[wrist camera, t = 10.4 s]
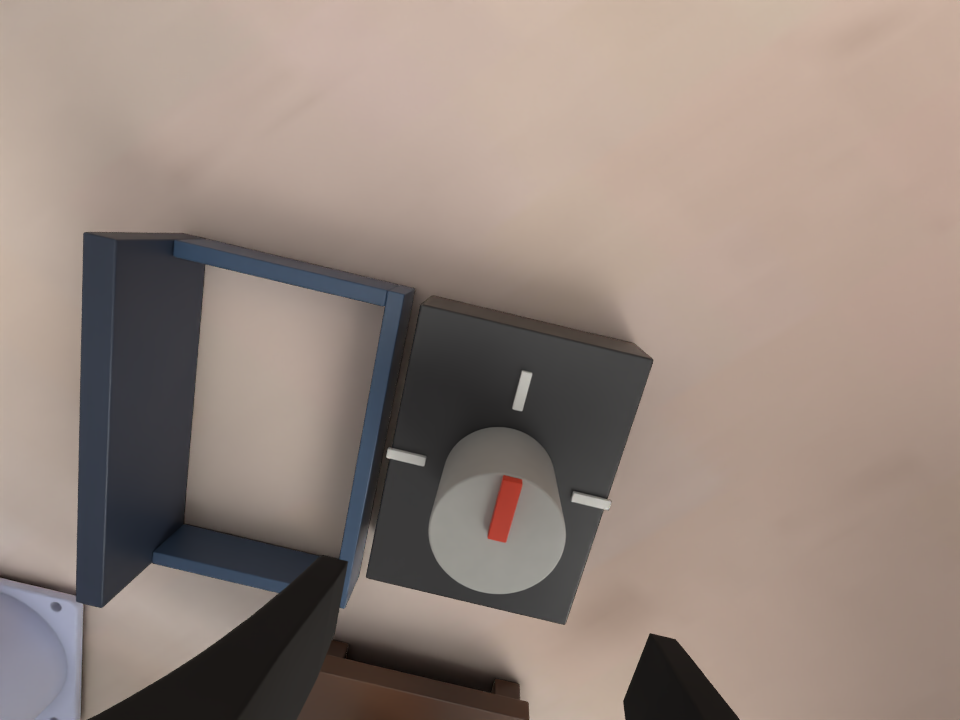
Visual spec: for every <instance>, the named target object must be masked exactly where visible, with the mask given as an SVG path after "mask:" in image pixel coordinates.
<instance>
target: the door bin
mask: <svg viewBox="0 0 960 720" xmlns="http://www.w3.org/2000/svg"><path fill="white" fill-rule="evenodd" d="M205 264H207V265H211V266H215V267H219V268H223V269H228V270H232V271H236V272H240V273H244V274H249V275H253V276H257V277H261V278H265V279H270V280H274V281H278V282H282V283H286V284H291V285H295V286H299V287H303V288H307V289H312V290H316V291H320V292H324V293H328V294H333V295H337V296H341V297H345V298H349V299H354V300H358V301H362V302H366V303H370V304H375V305H379V306H385V310H384V315H383V321H382V326H381V332H380V337H379V343H378V348H377V354H376V359H375V365H374V370H373V376H372V381H371V387H370V392H369V398H368V403H367V409H366V414H365V420H364V425H363V431H362V436H361V442H360V447H359V453H358V458H357V464H356V469H355V475H354V480H353V486H352V491H351V497H350V502H349V508H348V513H347V519H346V524H345V530H344V535H343V541H342V546H341V552H340V557H339V559H341V560H345V561H348V566H347V571H346V576H345V582H344V587H343V592H342V598H341V603H340V608H343V609H344V608H345V607H346V605H347V602H348V600H349V598H350V595H351V593H352V591H353V589H354V586H355V584H356V582H357V580H358V577H359V573H360V568H361V563H362V558H363V553H364V548H365V543H366V538H367V533H368V527H369V522H370V517H371V512H372V507H373V502H374V497H375V492H376V487H377V481H378V476H379V471H380V466H381V461H382V456H383V451H384V446H385V441H386V436H387V430H388V425H389V420H390V415H391V410H392V405H393V400H394V395H395V390H396V384H397V379H398V374H399V369H400V364H401V359H402V354H403V349H404V344H405V339H406V333H407V328H408V323H409V318H410V313H411V308H412V303H413V298H414V293H415V289H414V288H411V287H407V286H403V285H400V286H399V285H398V284H394V283H390V282H386V281H382V280H377V279H373V278H369V277H365V276H361V275H356V274H352V273H348V272H344V271H340V270H335V269H331V268H327V267H323V266H319V265H314V264H310V263H306V262H302V261H298V260H293V259H289V258H285V257H281V256H277V255H272V254H268V253H264V252H260V251H256V250H252V249H247V248H243V247H239V246H235V245H231V244H226V243H222V242H218V241H214V240H210V239H205V238H201V237H197V236H193V235H189V234H185V233H126V232H85V233H84V234H83V282H82V330H81V377H80V425H79V473H78V521H77V569H76V602H78V603H82V604H87V605H91V606H95V607H99V608H102V607H104V606H105V605H106V604H107V603H108V602H109V601H110V600H111V599H112V598H114V597H115V596H116V595H117V594H118V593H119V592H120V591H121V590H122V589H123V588H124V587H126V586H127V585H128V584H129V583H130V582H131V581H132V580H133V579H134V578H135V577H137V576H138V575H139V574H140V573H141V572H142V571H143V570H144V569H145V568H146V567H147V566H149V565H150V564H151V563H153V564H157V565H162V566H166V567H170V568H174V569H179V570H183V571H187V572H191V573H196V574H200V575H204V576H208V577H212V578H217V579H221V580H225V581H229V582H234V583H238V584H242V585H246V586H251V587H255V588H259V589H263V590H267V591H272V592H276V593H280V592H281V591H282V590H283V589H285V588H286V587H287V586H288V585H289V584H290V583H291V582H293V581H294V580H295V579H296V578H297V577H298V576H299V575H300V574H301V573H302V572H304V571H305V570H306V569H307V568H308V567H309V566H310V565H311V564H312V563H313V562H314V561H315V560H316V559H317V558H319V557H321V556H317V555H313V554H309V553H305V552H300V551H296V550H292V549H288V548H283V547H279V546H275V545H271V544H267V543H262V542H258V541H254V540H250V539H245V538H241V537H237V536H233V535H229V534H224V533H220V532H216V531H212V530H207V529H203V528H199V527H195V526H190V525H186V524H183V520H184V508H185V497H186V485H187V473H188V461H189V449H190V437H191V425H192V414H193V402H194V390H195V378H196V366H197V354H198V342H199V331H200V319H201V307H202V295H203V283H204V271H205Z"/></svg>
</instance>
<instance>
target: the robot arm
mask: <svg viewBox="0 0 960 720" xmlns="http://www.w3.org/2000/svg"><path fill="white" fill-rule="evenodd" d="M347 566H348V561H345V560H341V559H337V558H333V557H328V556H324V555H322V556H321V557H319V558H317V559H316V560H315V561H314V562H313V563H312V564H311V565H310V566H309V567H308V568H307V569H306V570H305V571H304V572H302V573H301V574H300V575H299V576H298V577H297V578H296V579H295V580H294V581H293V582H291V583H290V584H289V585H288V586H287V587H286V588H285V589H283V590H282V591H281V592H280V593H279V594H278V595H276V596H275V597H274V598H273V599H272V600H270V601H269V602H268V603H267V604H265V605H264V606H263V607H262V608H261V609H259V610H258V611H257V612H256V613H254V614H253V615H252V616H251V617H249V618H248V619H247V620H246V621H244V622H243V623H241V624H240V625H239V626H237V627H236V628H235V629H233V630H232V631H231V632H229V633H228V634H227V635H225V636H224V637H223V638H221V639H220V640H219V641H217V642H216V643H214V644H213V645H212V646H210V647H209V648H207V649H206V650H204V651H203V652H201V653H200V654H199V655H197V656H196V657H194V658H193V659H191V660H190V661H188V662H187V663H185V664H183V665H182V666H180V667H179V668H177V669H176V670H174V671H172V672H171V673H169V674H168V675H166V676H164V677H163V678H161V679H159V680H158V681H156V682H154V683H153V684H151V685H149V686H148V687H146V688H144V689H142V690H141V691H139V692H137V693H136V694H134V695H132V696H130V697H129V698H127V699H125V700H123V701H122V702H120V703H118V704H116V705H114V706H113V707H111V708H109V709H107V710H105V711H103V712H102V713H100V714H98V715H96V716H94V717H92V718H90V719H88V720H297V718H298V716H299V714H300V712H301V710H302V708H303V706H304V704H305V702H306V700H307V698H308V696H309V694H310V692H311V690H312V688H313V686H314V684H315V682H316V680H317V678H318V675H319V672H320V670H321V667H322V665H323V662H324V660H325V657H326V654H327V652H328V649H329V647H330V644H331V641H332V639H333V636H334V633H335V629H336V624H337V619H338V613H339V608H340V603H341V598H342V592H343V587H344V582H345V576H346V571H347ZM82 640H83V604H82V603H78V602H76V596H75V595H71V594H67V593H63V592H59V591H54V590H50V589H46V588H42V587H37V586H33V585H29V584H25V583H20V582H16V581H12V580H8V579H4V578H0V720H80V717H81V679H82ZM623 702H624V711H625V720H740V719H739V718H738V717H737V715H736V714H735V713H734V712H733V710H732V709H731V708H730V707H729V705H728V704H727V703H726V702H725V700H724V699H723V698H722V697H721V695H720V694H719V693H718V692H717V690H716V689H715V688H714V687H713V685H712V684H711V683H710V681H709V680H708V679H707V678H706V676H705V675H704V674H703V673H702V671H701V670H700V669H699V668H698V666H697V665H696V664H695V662H694V661H693V660H692V659H691V657H690V656H689V655H688V654H687V652H686V651H685V650H684V649H683V648H682V646H681V645H680V644H679V643H678V642H677V641H676V639H672V638H667V637H663V636H659V635H655V634H651V633H650V634H649V637H648V639H647V642H646V645H645V647H644V650H643V652H642V655H641V657H640V660H639V662H638V665H637V668H636V670H635V673H634V675H633V678H632V680H631V683H630V685H629V688H628V690H627V693H626V696H625V698H624V701H623Z"/></svg>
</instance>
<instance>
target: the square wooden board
mask: <svg viewBox="0 0 960 720" xmlns="http://www.w3.org/2000/svg"><path fill="white" fill-rule="evenodd" d="M348 646H349V645H348V643H344V642H340V641H335V640H332V641H331V644H330V647H329V649H328V652H327V654H326V657H325V660H324V662H323V665H322V667H321V670H320V672H319V675H318V678H317V680H316V682H315V684H314V686H313V688H312V690H311V692H310V694H309V696H308V698H307V700H306V702H305V704H304V706H303V708H302V710H301V712H300V714H299V716H298V718H297V720H529V703H528V702H526V701H522V700H520V685H519V684H517V683H513V682H509V681H505V680H501V679H495V681H494V684H493V687H492V691H491V693H488V692H484V691H480V690H476V689H471V688H467V687H463V686H459V685H454V684H450V683H446V682H442V681H437V680H433V679H429V678H425V677H421V676H416V675H412V674H408V673H404V672H399V671H395V670H391V669H387V668H382V667H378V666H374V665H370V664H365V663H361V662H357V661H353V660H348V659H346V656H347V651H348Z"/></svg>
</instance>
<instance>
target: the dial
mask: <svg viewBox="0 0 960 720" xmlns="http://www.w3.org/2000/svg"><path fill="white" fill-rule="evenodd" d="M428 535H429V542H430V546H431V549H432V552H433V554H434V556H435V558H436V560H437V562H438V563H439V565H440V566H441V567H442V568H443V570H444V571H445V572H446V573H447V574H448V575H449V576H450V577H452V578H453V579H454V580H456V581H457V582H458V583H460V584H462V585H464V586H466V587H468V588H470V589H473V590H476V591H479V592H484V593H490V594H508V593H514V592H518V591H522V590H525V589H527V588H530V587H532V586H534V585H535V584H537V583H539V582H540V581H542V580H543V579H544V578H546V577H547V576H548V575H549V574H550V573H551V572H552V570H553V569H554V568H555V566H556V565H557V563H558V561H559V560H560V558H561V556H562V553H563V550H564V546H565V540H566V528H565V522H564V517H563V512H562V507H561V502H560V497H559V492H558V487H557V482H556V477H555V472H554V467H553V464H552V461H551V459H550V457H549V455H548V453H547V452H546V450H545V449H544V448H543V447H542V446H541V445H540V444H539V442H537V441H536V440H535V439H534V438H532V437H531V436H529V435H527V434H525V433H523V432H521V431H518V430H515V429H511V428H506V427H490V428H485V429H481V430H478V431H475V432H473V433H471V434H469V435H467V436H466V437H464V438H463V439H462V440H460V441H459V442H458V443H457V444H456V445H455V446H454V448H453V449H452V450H451V452H450V453H449V455H448V457H447V459H446V462H445V466H444V469H443V473H442V476H441V480H440V484H439V487H438V491H437V494H436V498H435V502H434V505H433V509H432V512H431V516H430V520H429V527H428Z"/></svg>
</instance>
